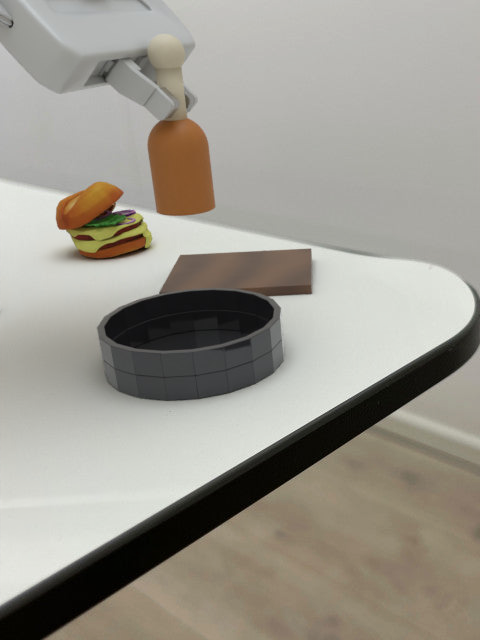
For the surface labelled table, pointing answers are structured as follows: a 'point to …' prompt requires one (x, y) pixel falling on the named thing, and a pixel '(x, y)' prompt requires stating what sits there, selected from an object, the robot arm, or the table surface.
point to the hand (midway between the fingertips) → (181, 110)
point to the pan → (191, 343)
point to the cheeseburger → (101, 222)
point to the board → (245, 272)
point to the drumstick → (177, 142)
